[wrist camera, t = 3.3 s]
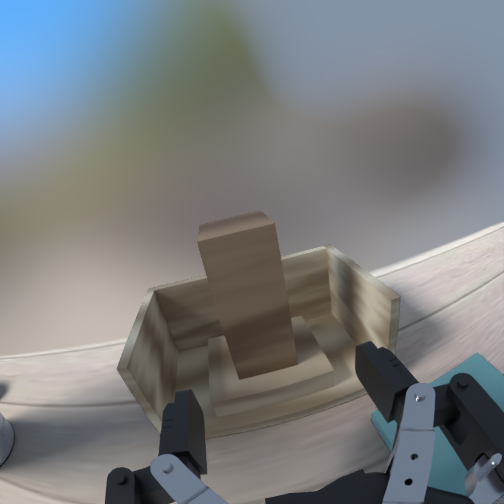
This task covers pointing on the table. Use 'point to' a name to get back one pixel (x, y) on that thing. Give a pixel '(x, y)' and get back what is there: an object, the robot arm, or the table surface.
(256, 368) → the walnut block
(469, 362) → the mat
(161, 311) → the crate
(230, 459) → the table surface
